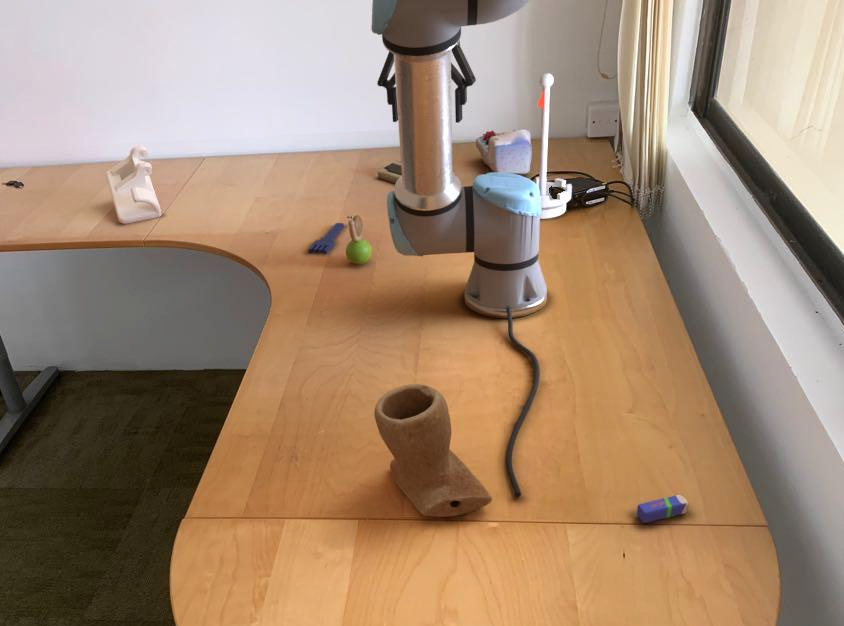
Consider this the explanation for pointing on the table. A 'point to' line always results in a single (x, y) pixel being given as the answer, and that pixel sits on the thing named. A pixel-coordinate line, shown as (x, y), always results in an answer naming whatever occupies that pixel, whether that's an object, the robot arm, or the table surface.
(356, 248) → the snail figurine
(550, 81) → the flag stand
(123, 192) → the white angular piece
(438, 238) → the robot arm
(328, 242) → the fork
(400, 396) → the clay pipe
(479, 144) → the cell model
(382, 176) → the computer
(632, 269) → the table surface
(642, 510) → the eraser
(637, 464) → the table surface
